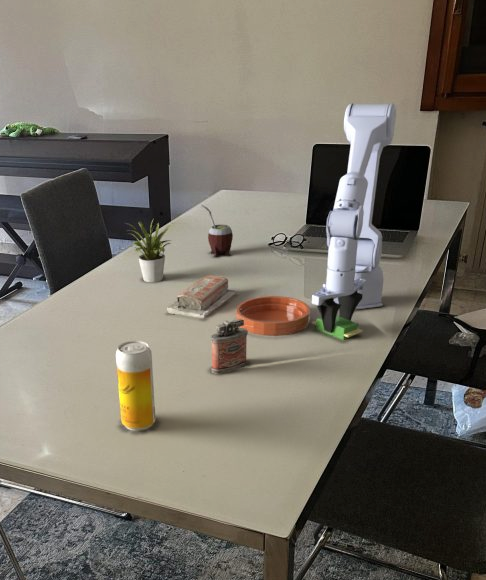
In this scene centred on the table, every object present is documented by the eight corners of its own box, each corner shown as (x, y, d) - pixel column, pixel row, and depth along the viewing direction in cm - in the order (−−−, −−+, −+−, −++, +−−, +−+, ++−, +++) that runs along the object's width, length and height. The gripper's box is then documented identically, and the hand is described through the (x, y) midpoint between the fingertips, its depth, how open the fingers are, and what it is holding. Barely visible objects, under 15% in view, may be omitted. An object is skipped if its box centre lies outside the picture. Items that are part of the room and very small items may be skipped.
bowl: (293, 306, 176) (294, 292, 174) (320, 332, 162) (321, 317, 160) (227, 315, 174) (227, 301, 172) (249, 342, 159) (249, 327, 158)
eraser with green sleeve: (325, 323, 165) (326, 311, 164) (361, 337, 158) (362, 324, 156) (311, 328, 163) (312, 316, 162) (347, 342, 156) (348, 330, 154)
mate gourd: (236, 252, 215) (236, 200, 208) (224, 259, 209) (224, 206, 202) (214, 249, 219) (213, 198, 211) (201, 256, 213) (200, 204, 206)
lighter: (216, 375, 146) (216, 329, 141) (207, 369, 149) (207, 323, 144) (250, 365, 149) (251, 319, 144) (241, 359, 152) (241, 314, 147)
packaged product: (200, 271, 187) (236, 276, 182) (200, 289, 189) (236, 295, 185) (165, 295, 174) (203, 300, 169) (166, 314, 176) (204, 320, 172)
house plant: (113, 286, 196) (108, 224, 188) (133, 269, 207) (129, 211, 199) (163, 290, 191) (160, 227, 183) (181, 273, 202) (179, 213, 194)
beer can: (120, 417, 134) (114, 341, 127) (154, 414, 134) (149, 338, 127) (122, 433, 129) (116, 356, 121) (157, 430, 129) (152, 352, 122)
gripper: (350, 255, 159) (345, 314, 166) (302, 270, 153) (299, 331, 159) (376, 262, 154) (370, 323, 161) (327, 278, 147) (323, 341, 154)
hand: (336, 328), depth 160 cm, fingers closed on eraser with green sleeve, 4 cm apart
